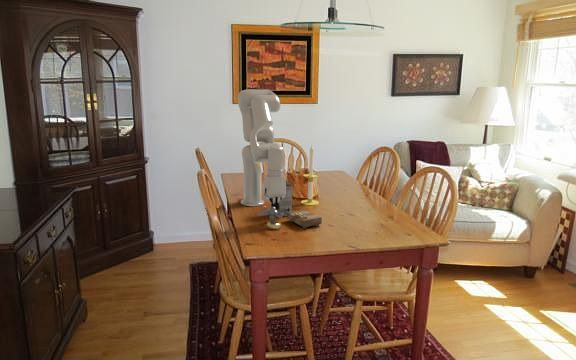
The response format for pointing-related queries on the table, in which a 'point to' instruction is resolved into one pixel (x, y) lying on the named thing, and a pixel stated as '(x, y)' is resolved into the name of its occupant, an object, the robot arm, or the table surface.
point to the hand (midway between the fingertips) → (274, 210)
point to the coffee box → (286, 200)
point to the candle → (310, 181)
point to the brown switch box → (304, 218)
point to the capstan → (272, 216)
